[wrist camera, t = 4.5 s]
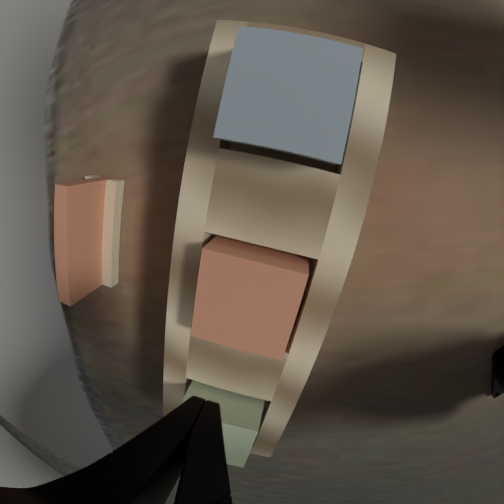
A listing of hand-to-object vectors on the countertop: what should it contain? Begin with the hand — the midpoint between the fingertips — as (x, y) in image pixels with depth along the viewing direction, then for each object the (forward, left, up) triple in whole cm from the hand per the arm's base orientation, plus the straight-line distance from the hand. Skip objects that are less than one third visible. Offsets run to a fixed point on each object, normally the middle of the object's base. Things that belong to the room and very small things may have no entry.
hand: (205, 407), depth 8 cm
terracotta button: (0, 0, -10) cm, 10 cm away
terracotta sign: (+8, +9, -12) cm, 17 cm away
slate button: (+8, -6, -8) cm, 13 cm away
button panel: (0, 0, -12) cm, 12 cm away
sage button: (-8, +6, -8) cm, 13 cm away
